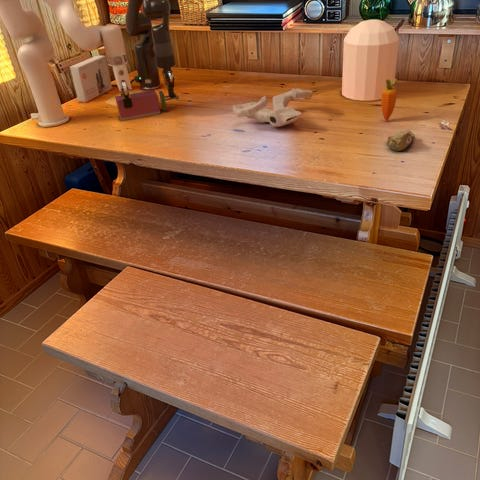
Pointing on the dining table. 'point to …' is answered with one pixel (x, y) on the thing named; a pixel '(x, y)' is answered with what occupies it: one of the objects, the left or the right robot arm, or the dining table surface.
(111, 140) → the dining table surface
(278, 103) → the beige irregular branched piece
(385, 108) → the carrot
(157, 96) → the drawer
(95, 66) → the skincare box
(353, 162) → the dining table surface
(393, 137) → the rock
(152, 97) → the cabinet
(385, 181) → the dining table surface
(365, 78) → the container
